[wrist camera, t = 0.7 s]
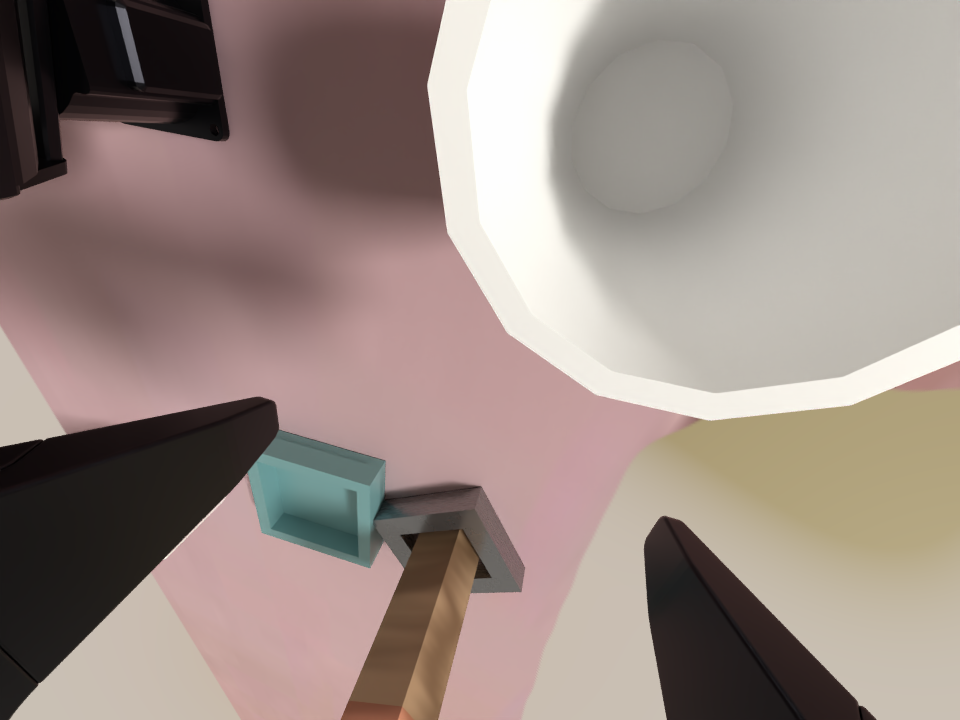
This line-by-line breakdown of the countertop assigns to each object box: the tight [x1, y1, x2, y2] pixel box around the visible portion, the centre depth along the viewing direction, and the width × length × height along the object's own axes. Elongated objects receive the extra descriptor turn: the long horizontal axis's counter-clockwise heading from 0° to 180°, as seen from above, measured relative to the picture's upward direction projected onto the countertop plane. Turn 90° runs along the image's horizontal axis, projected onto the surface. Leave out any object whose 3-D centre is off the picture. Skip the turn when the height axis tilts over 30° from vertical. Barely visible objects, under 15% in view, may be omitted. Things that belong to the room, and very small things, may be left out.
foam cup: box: [427, 0, 960, 421], centre depth 11 cm, size 10×9×13 cm
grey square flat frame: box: [373, 487, 525, 593], centre depth 31 cm, size 9×9×2 cm
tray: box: [248, 430, 385, 568], centre depth 32 cm, size 10×10×2 cm
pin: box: [341, 529, 479, 720], centre depth 26 cm, size 4×4×13 cm
